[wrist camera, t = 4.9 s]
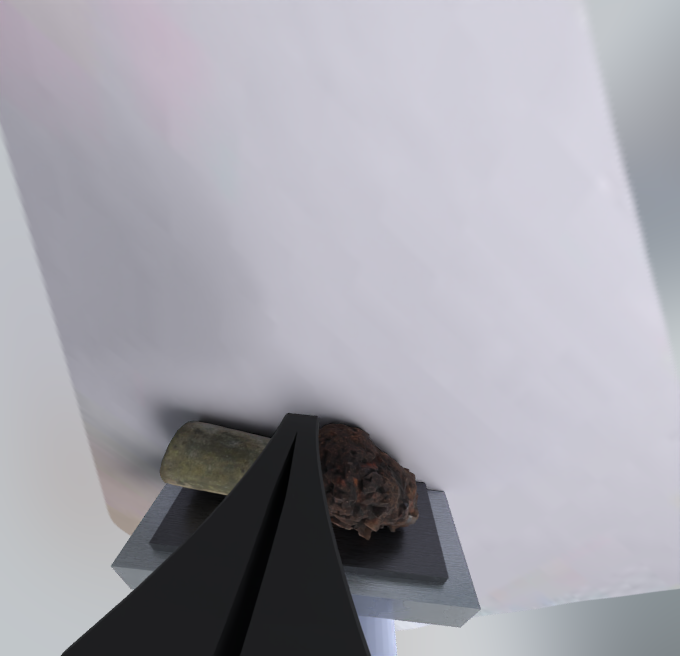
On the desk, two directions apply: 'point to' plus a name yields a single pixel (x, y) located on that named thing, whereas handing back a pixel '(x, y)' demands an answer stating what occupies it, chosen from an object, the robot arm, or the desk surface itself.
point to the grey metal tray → (355, 552)
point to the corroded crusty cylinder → (336, 464)
